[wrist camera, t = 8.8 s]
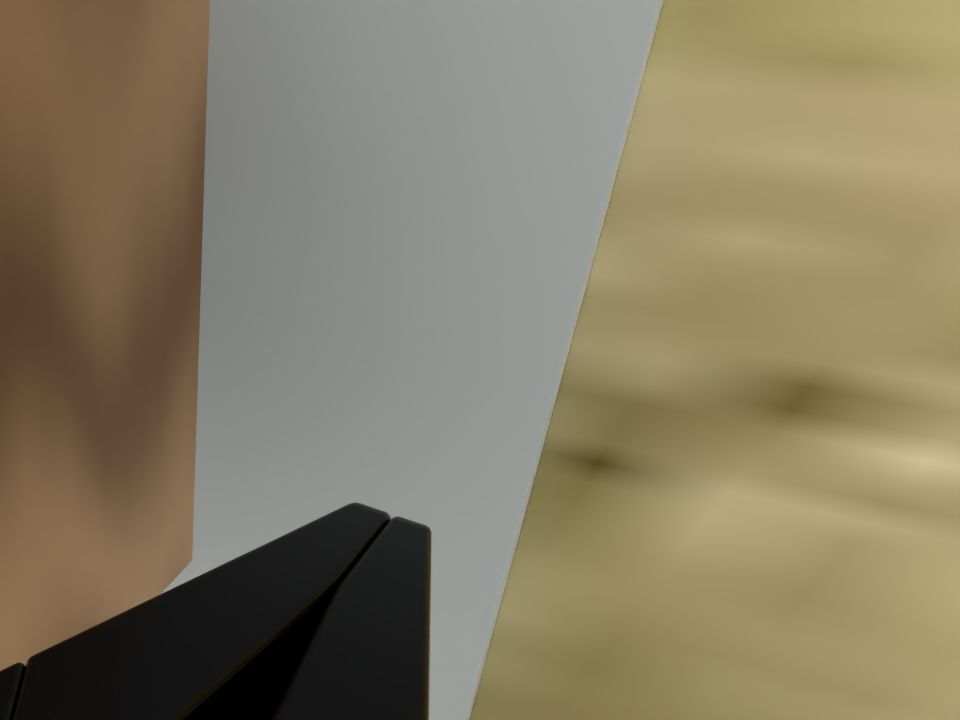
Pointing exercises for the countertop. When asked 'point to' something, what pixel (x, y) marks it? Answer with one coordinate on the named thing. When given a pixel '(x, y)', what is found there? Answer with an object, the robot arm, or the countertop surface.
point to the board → (400, 272)
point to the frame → (97, 307)
